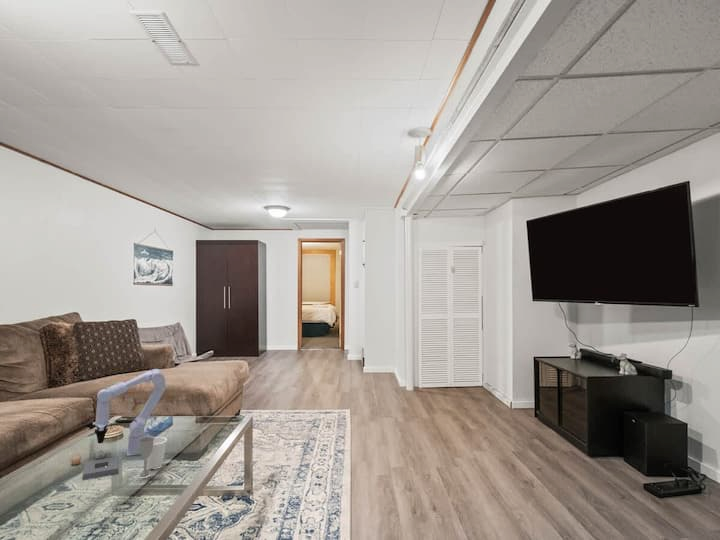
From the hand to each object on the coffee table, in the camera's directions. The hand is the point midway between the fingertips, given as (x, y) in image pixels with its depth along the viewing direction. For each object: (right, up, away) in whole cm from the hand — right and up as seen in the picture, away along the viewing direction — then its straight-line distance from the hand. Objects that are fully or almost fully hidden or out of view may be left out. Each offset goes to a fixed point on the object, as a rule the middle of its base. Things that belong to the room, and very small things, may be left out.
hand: (100, 440), depth 209 cm
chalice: (+31, -11, -15) cm, 36 cm away
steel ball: (0, -8, 0) cm, 8 cm away
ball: (-8, -7, -7) cm, 13 cm away
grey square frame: (+8, -10, -12) cm, 17 cm away
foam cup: (+31, -11, -6) cm, 33 cm away
